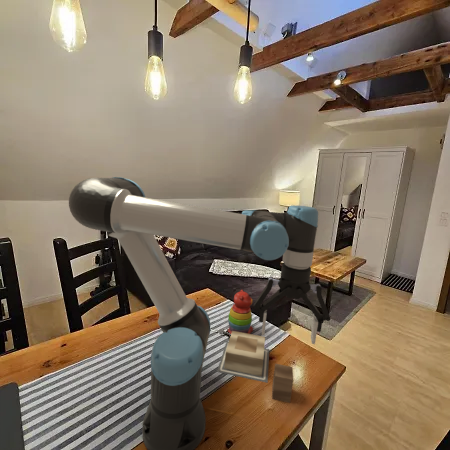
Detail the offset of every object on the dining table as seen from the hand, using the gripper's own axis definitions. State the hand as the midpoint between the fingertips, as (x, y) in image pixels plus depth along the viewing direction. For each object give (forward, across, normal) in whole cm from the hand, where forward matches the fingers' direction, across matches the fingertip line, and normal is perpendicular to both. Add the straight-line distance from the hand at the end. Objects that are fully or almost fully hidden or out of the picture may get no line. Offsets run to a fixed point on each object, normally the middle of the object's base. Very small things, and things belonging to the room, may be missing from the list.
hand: (287, 336), depth 71 cm
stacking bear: (+19, +16, -26) cm, 36 cm away
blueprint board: (+19, +12, -11) cm, 25 cm away
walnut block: (+19, 0, 0) cm, 19 cm away
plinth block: (+18, +12, -11) cm, 24 cm away
